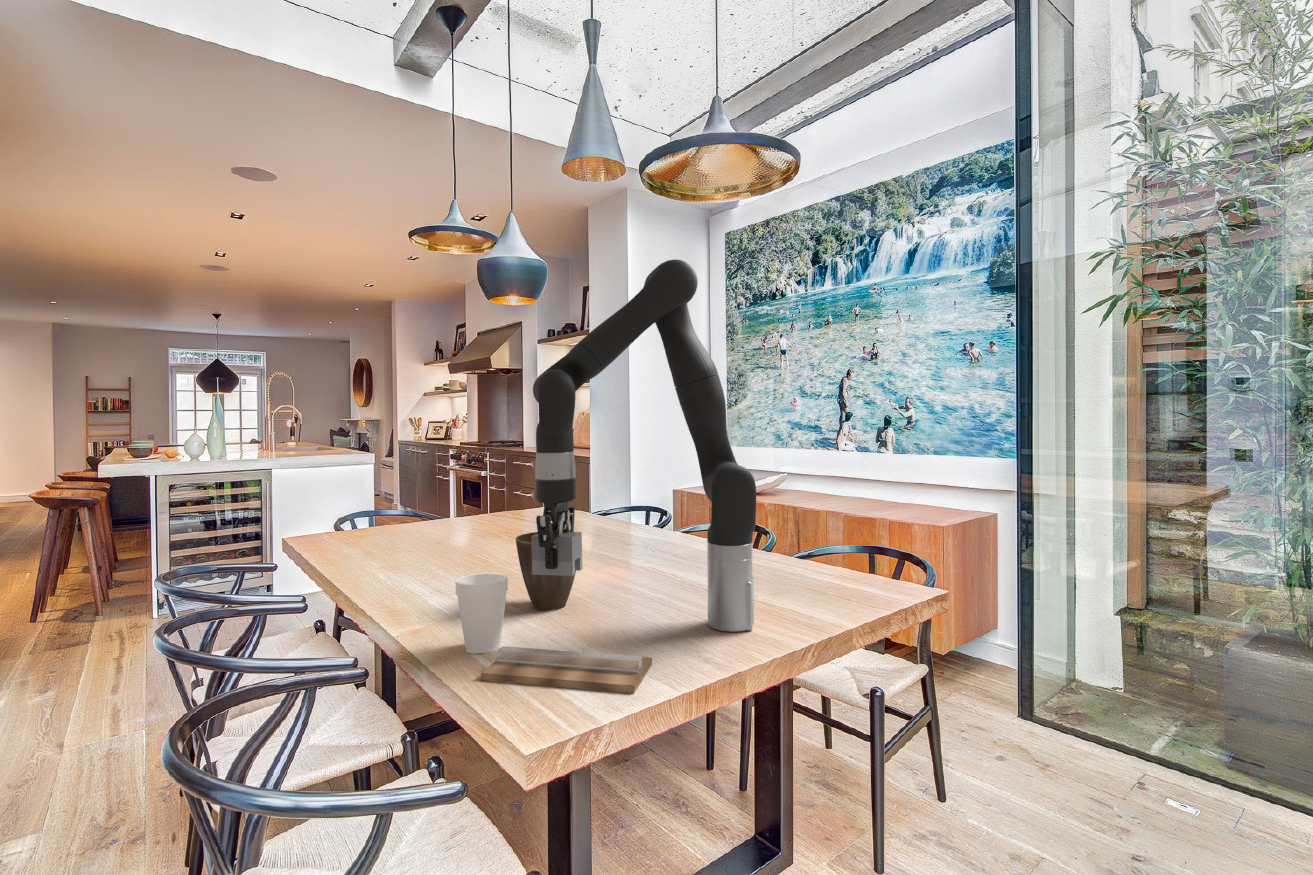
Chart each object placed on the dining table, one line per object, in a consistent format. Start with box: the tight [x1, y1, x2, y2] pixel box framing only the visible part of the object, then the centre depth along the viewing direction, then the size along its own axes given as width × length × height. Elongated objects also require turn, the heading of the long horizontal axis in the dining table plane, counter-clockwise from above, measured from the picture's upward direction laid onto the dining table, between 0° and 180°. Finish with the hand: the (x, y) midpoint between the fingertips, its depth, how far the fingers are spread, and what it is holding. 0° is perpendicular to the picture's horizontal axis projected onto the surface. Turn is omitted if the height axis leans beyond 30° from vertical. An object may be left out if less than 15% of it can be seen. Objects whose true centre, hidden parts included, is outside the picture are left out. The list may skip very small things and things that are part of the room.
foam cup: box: [455, 572, 509, 654], centre depth 121 cm, size 10×9×13 cm
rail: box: [496, 645, 643, 674], centre depth 109 cm, size 25×3×2 cm, turn 77°
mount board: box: [480, 656, 653, 694], centre depth 109 cm, size 26×12×1 cm, turn 77°
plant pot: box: [515, 531, 577, 611], centre depth 148 cm, size 15×15×16 cm
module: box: [531, 529, 583, 576], centre depth 123 cm, size 8×5×8 cm
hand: (557, 564), depth 123 cm, fingers closed on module, 5 cm apart
